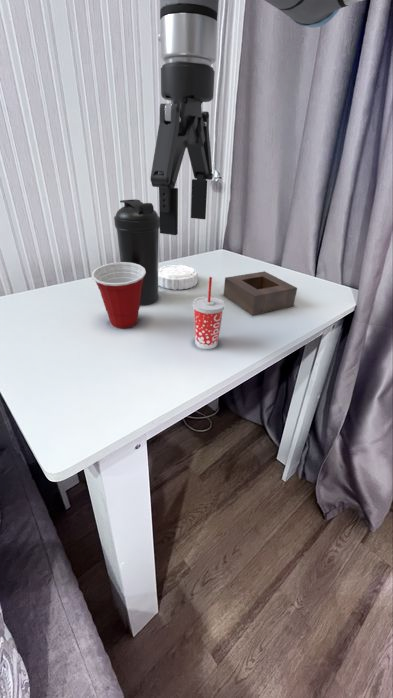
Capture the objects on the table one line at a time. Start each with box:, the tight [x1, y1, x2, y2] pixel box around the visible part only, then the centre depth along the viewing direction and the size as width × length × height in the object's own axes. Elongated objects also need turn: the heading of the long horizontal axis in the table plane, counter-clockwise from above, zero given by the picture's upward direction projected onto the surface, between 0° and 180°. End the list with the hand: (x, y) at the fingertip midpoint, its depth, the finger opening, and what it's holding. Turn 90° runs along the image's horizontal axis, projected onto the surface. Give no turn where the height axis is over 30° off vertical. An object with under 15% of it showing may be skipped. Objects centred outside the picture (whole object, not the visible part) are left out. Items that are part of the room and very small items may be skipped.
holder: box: [223, 271, 298, 316], centre depth 85 cm, size 13×13×5 cm
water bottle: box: [113, 198, 160, 306], centre depth 79 cm, size 10×10×23 cm
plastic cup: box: [91, 261, 146, 329], centre depth 70 cm, size 11×11×12 cm
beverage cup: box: [192, 276, 226, 350], centre depth 64 cm, size 6×6×14 cm
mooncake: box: [158, 264, 199, 291], centre depth 94 cm, size 12×12×4 cm
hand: (184, 225), depth 57 cm, fingers open, 13 cm apart
